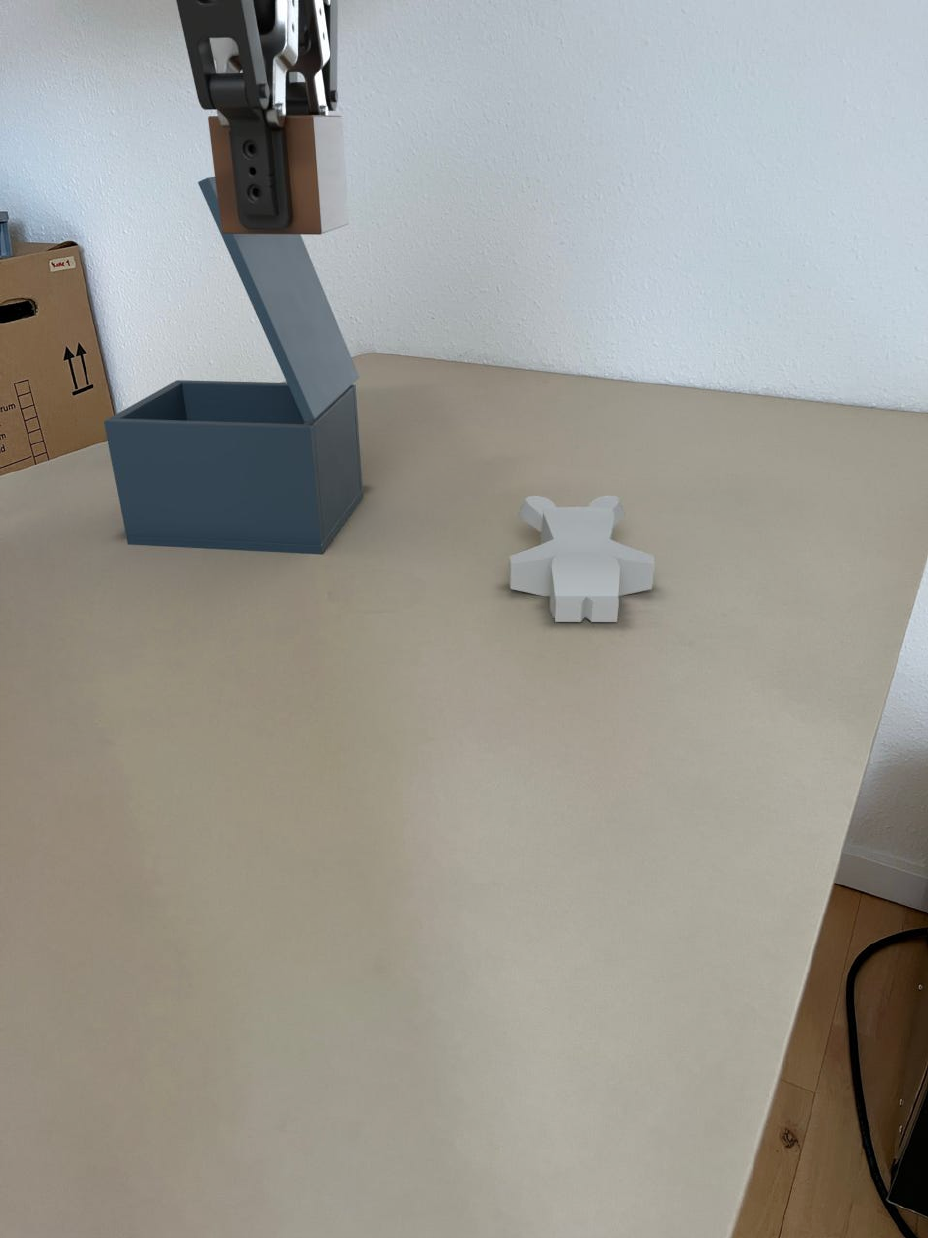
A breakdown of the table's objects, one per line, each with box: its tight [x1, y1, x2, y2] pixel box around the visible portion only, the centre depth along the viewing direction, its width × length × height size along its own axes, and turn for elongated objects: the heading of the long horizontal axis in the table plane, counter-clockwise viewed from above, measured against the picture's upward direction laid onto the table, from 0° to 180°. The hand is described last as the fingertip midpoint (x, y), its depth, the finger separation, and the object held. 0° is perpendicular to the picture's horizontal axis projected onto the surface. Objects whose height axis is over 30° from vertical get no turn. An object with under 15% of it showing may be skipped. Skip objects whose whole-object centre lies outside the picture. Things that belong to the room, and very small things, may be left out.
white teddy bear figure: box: [508, 495, 656, 623], centre depth 64 cm, size 10×5×15 cm
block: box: [207, 114, 349, 236], centre depth 41 cm, size 4×4×4 cm
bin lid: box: [197, 176, 360, 423], centre depth 68 cm, size 16×13×5 cm
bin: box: [103, 379, 364, 556], centre depth 75 cm, size 16×13×10 cm
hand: (285, 220), depth 42 cm, fingers closed on block, 4 cm apart
